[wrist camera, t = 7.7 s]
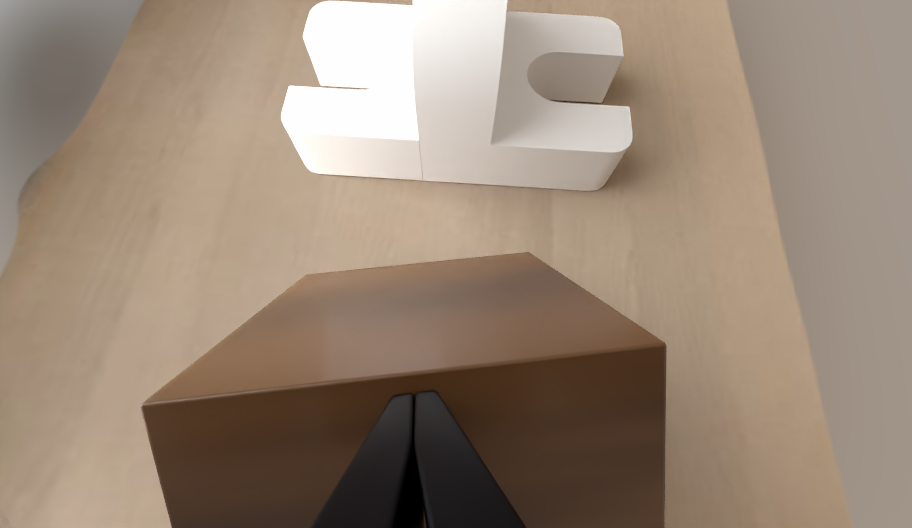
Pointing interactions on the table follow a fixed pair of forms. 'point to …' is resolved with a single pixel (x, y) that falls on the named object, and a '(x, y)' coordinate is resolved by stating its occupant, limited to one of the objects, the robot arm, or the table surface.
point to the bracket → (460, 95)
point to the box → (413, 370)
